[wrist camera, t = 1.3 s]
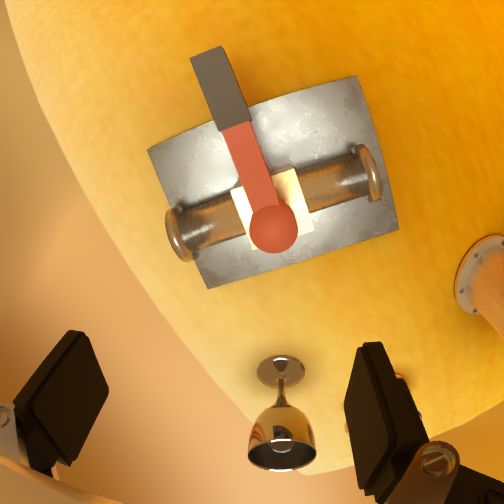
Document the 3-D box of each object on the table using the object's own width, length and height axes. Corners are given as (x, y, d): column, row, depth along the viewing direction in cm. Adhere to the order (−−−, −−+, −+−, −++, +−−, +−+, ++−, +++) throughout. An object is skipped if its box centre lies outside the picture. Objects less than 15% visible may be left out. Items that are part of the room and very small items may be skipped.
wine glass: (246, 360, 43) (236, 446, 29) (299, 346, 42) (307, 434, 28) (264, 394, 46) (261, 474, 32) (313, 382, 44) (322, 464, 30)
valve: (354, 77, 28) (384, 59, 19) (396, 226, 34) (431, 258, 25) (150, 149, 32) (109, 158, 24) (209, 285, 39) (192, 331, 30)
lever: (301, 234, 25) (304, 245, 23) (259, 247, 26) (258, 259, 24) (233, 50, 20) (229, 41, 18) (189, 67, 20) (181, 61, 18)
